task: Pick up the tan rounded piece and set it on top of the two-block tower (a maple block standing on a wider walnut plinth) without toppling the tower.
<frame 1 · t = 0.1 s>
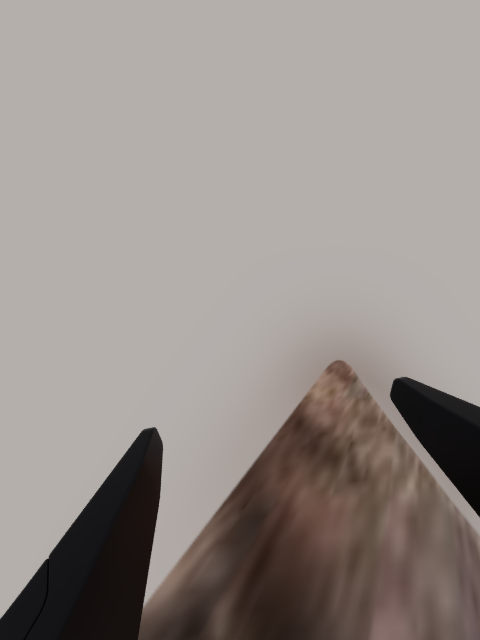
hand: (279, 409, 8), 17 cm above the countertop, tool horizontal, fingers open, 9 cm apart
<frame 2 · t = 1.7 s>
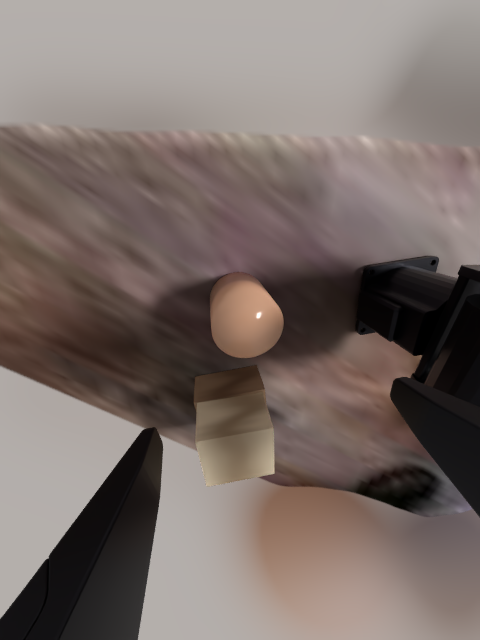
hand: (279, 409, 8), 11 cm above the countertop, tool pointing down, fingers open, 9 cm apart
maple block: (233, 420, 20), point 3 cm above the countertop
tan rounded piece: (237, 299, 18), on the countertop
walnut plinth: (230, 392, 23), on the countertop
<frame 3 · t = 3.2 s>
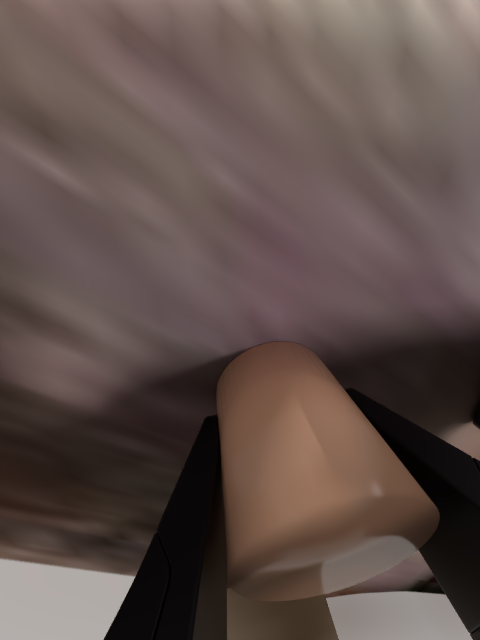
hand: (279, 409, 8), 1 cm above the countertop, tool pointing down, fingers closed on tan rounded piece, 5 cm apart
maple block: (258, 602, 11), point 3 cm above the countertop, touching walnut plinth
tan rounded piece: (272, 389, 9), on the countertop, touching gripper
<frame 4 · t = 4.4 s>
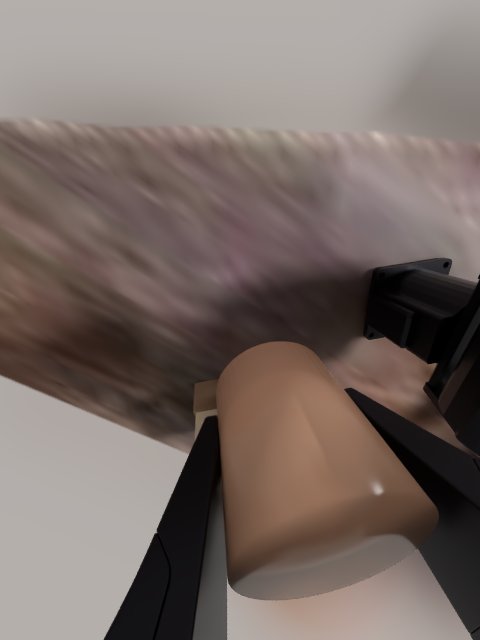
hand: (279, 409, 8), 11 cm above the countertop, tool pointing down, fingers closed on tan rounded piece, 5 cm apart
tan rounded piece: (272, 389, 9), point 9 cm above the countertop, touching gripper
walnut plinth: (231, 398, 22), on the countertop, touching maple block
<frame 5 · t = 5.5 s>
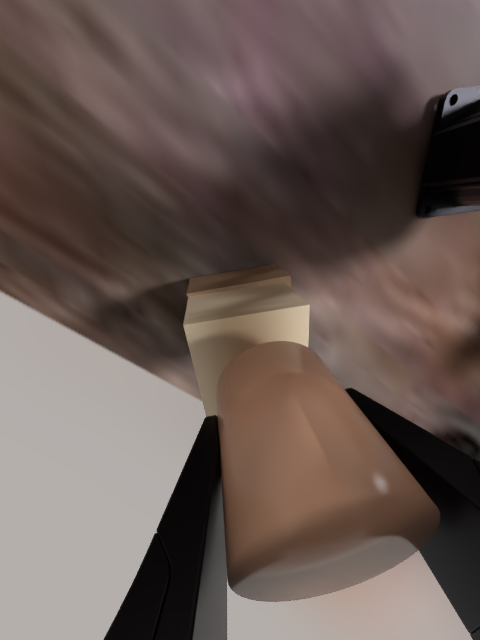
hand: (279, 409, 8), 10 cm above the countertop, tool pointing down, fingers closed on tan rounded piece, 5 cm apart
maple block: (242, 331, 14), point 3 cm above the countertop, touching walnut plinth
tan rounded piece: (272, 389, 9), point 9 cm above the countertop, touching gripper
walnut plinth: (238, 308, 17), on the countertop, touching maple block
when the fingers open (9 cm above the countertop, at t = 5.8 s): tan rounded piece drops 2 cm, resting on maple block.
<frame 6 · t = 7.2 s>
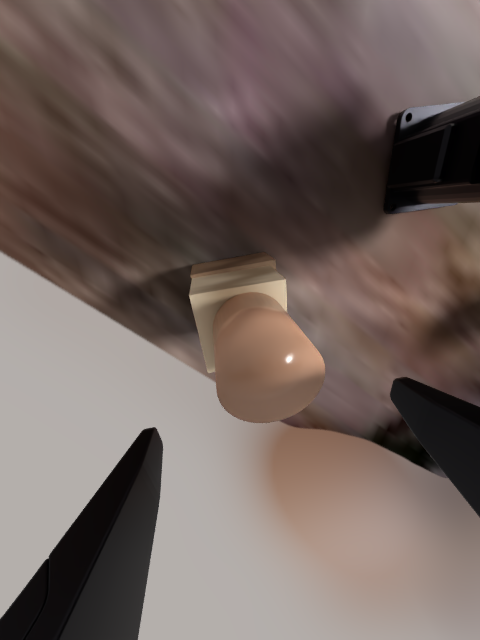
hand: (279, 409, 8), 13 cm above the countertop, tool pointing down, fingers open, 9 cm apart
maple block: (236, 307, 17), point 3 cm above the countertop, touching tan rounded piece, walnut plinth
tan rounded piece: (250, 327, 14), point 7 cm above the countertop, touching maple block
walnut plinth: (234, 291, 20), on the countertop, touching maple block
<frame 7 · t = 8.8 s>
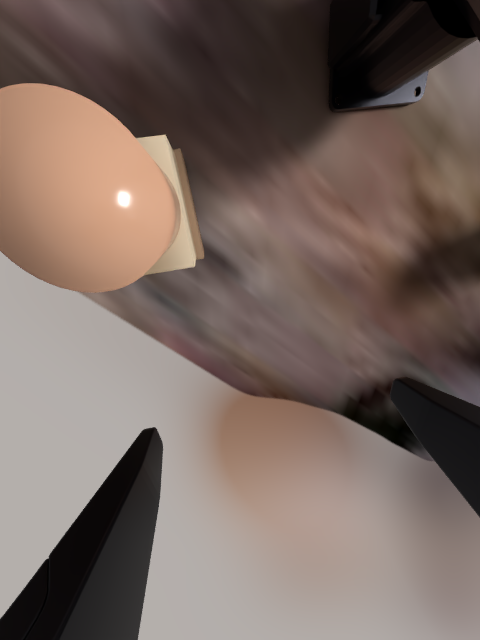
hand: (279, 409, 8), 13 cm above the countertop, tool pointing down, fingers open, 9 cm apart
maple block: (140, 215, 13), point 3 cm above the countertop, touching tan rounded piece, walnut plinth
tan rounded piece: (128, 210, 10), point 7 cm above the countertop, touching maple block
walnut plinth: (155, 216, 17), on the countertop, touching maple block
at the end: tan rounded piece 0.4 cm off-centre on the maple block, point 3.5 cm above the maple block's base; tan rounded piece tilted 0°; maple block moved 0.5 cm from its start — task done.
